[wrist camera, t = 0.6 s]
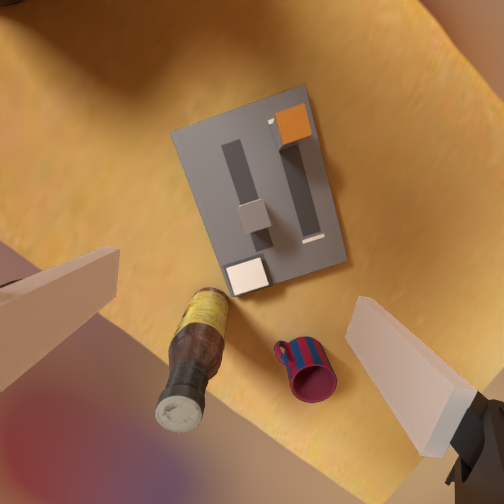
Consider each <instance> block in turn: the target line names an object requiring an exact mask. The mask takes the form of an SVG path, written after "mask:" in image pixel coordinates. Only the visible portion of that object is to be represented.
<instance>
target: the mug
mask: <svg viewBox="0 0 504 504" xmlns="http://www.w3.org/2000/svg"><path fill="white" fill-rule="evenodd" d="M280 346H281V347H283V348H285V351H284V355H283V353H282V352H281V350H280ZM274 350H275V354H276V356H277V358H278V359H279V361H280V362H281V363H282V364H284V365H285V366H286V369H287V373H288V378H289V382H290V387H291V390H292V392H293V394H294V395H295V397H297V398H298V399H299V400H301V401H304V402H308V403H316V402H320V401H323V400H325V399H327V398H328V397H329V396H331V395H332V393H333V392H334V390H335V388H336V385H337V378H336V375H335V373H334V371H333V369H332V367H331V365H330V362H329V360H328V358H327V356H326V354H325V352H324V350H323V348H322V346H321V344H320V343H319V342H318V341H317V340H315V339H313V338H311V337H299V338H296V339H294V340H292V341H291V342H290V343H287V342H284V341H278V342H277V343H276V344H275V346H274Z"/></svg>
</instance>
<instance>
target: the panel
mask: <svg viewBox="0 0 504 504" xmlns="http://www.w3.org/2000/svg"><path fill="white" fill-rule="evenodd" d="M303 103H304V104H305V108H306V112H307V116H308V120H309V124H310V128H311V132H312V135H311V136H310V137H307V138H306V139H305V140H304V141H303V142H301V143H300V144H298V145H295V146H292V147H289V148H286V149H283V150H281V151H278V150H277V147H276V143H275V140H274V136H273V133H272V129H271V126H272V124H273V121H274V118H275V117H274V114H275V113H277V112H280V111H283V110H286V109H289V108H292V107H294V106H297V105H300V104H303ZM170 135H171V137H172V140H173V143H174V145H175V148H176V151H177V153H178V156H179V159H180V161H181V164H182V167H183V169H184V172H185V175H186V177H187V180H188V183H189V185H190V188H191V191H192V193H193V196H194V199H195V201H196V204H197V207H198V209H199V212H200V215H201V217H202V220H203V223H204V225H205V228H206V231H207V233H208V236H209V239H210V241H211V244H212V247H213V249H214V252H215V255H216V257H217V260H218V263H219V265H220V268H221V271H222V273H223V276H224V279H225V281H226V284H227V287H228V289H229V292H230V295H231V297H237V296H240V295H243V294H246V293H249V292H253V291H256V290H259V289H262V288H265V287H269V286H272V285H274V284H276V283H279V282H282V281H285V280H289V279H292V278H295V277H298V276H301V275H305V274H308V273H311V272H314V271H317V270H321V269H324V268H327V267H330V266H333V265H337V264H340V263H343V262H346V261H348V259H347V255H346V251H345V246H344V242H343V238H342V234H341V230H340V226H339V222H338V218H337V214H336V209H335V205H334V201H333V197H332V193H331V189H330V185H329V181H328V177H327V172H326V168H325V164H324V160H323V156H322V152H321V148H320V144H319V140H318V135H317V131H316V127H315V123H314V119H313V115H312V111H311V107H310V103H309V98H308V94H307V90H306V86H305V84H303V85H300V86H298V87H295V88H292V89H289V90H287V91H284V92H281V93H278V94H275V95H273V96H270V97H267V98H264V99H261V100H259V101H256V102H253V103H250V104H248V105H245V106H242V107H239V108H236V109H234V110H231V111H228V112H225V113H222V114H220V115H217V116H214V117H211V118H209V119H206V120H203V121H200V122H197V123H195V124H192V125H189V126H186V127H183V128H181V129H178V130H175V131H172V132H170ZM257 199H263V200H264V203H265V207H266V210H267V213H268V216H269V219H270V223H271V226H270V227H267V228H264V229H261V230H257V231H254V232H251V233H248V234H245V232H244V229H243V226H242V223H241V220H240V217H239V214H238V211H237V207H239V206H240V205H243V204H246V203H248V202H251V201H254V200H257ZM256 258H261V262H262V265H263V267H264V270H265V274H266V277H267V280H268V283H269V285H267V286H263V287H260V288H257V289H254V290H251V291H247V292H244V293H241V294H238V295H234V292H233V289H232V285H231V282H230V279H229V276H228V273H227V270H226V268H228V267H231V266H235V265H238V264H241V263H244V262H247V261H250V260H253V259H256Z"/></svg>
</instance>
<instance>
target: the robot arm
mask: <svg viewBox="0 0 504 504" xmlns="http://www.w3.org/2000/svg"><path fill="white" fill-rule="evenodd" d="M19 1H21V0H0V5H9V4H13V3H16V2H19ZM119 256H120V248H115V247H110V246H103V247H101V248H98V249H96V250H93V251H91V252H88V253H86V254H83V255H81V256H79V257H76V258H74V259H71V260H69V261H66V262H64V263H61V264H59V265H57V266H54V267H52V268H49V269H47V270H44V271H42V272H40V273H37V274H35V275H32V276H30V277H27V278H24V279H20V280H15V281H11V282H9V283H6V284H4V285H1V286H0V392H2V391H3V390H4V389H5V388H6V387H8V386H9V385H10V384H11V383H13V382H14V381H15V380H16V379H17V378H19V377H20V376H21V375H22V374H23V373H25V372H26V371H27V370H28V369H29V368H31V367H32V366H33V365H34V364H35V363H37V362H38V361H39V360H40V359H41V358H43V357H44V356H45V355H46V354H47V353H49V352H50V351H51V350H52V349H53V348H55V347H56V346H57V345H58V344H59V343H61V342H62V341H63V340H64V339H66V338H67V337H68V336H69V335H70V334H72V333H73V332H74V331H75V330H76V329H78V328H79V327H80V326H81V325H82V324H84V323H85V322H86V321H87V320H88V319H90V318H91V317H92V316H93V315H94V314H95V313H97V312H98V311H99V310H100V309H102V308H103V307H104V306H105V305H106V304H108V303H109V302H110V301H111V300H112V299H114V298H115V297H116V290H117V279H118V267H119ZM345 340H346V341H347V343H348V344H349V346H350V347H351V349H352V350H353V352H354V353H355V355H356V357H357V358H358V360H359V361H360V363H361V364H362V366H363V367H364V369H365V370H366V372H367V374H368V375H369V377H370V378H371V380H372V381H373V383H374V384H375V386H376V387H377V389H378V390H379V392H380V394H381V395H382V397H383V398H384V400H385V401H386V403H387V404H388V406H389V407H390V409H391V411H392V412H393V414H394V415H395V417H396V418H397V420H398V421H399V423H400V424H401V426H402V427H403V429H404V431H405V432H406V434H407V435H408V437H409V438H410V440H411V441H412V443H413V444H414V446H415V448H416V449H417V451H418V452H419V454H420V455H421V456H426V457H432V458H439V459H443V457H444V455H445V453H446V451H447V449H448V447H449V446H450V444H451V445H452V447H453V448H454V449H455V450H456V452H457V453H458V454H459V457H458V459H457V460H456V462H455V464H454V466H453V468H452V470H451V472H450V473H449V475H448V477H447V479H446V481H445V483H446V484H447V485H450V483H451V482H455V504H504V402H502V401H498V400H494V399H493V400H488V399H487V398H485V397H484V396H483V395H482V394H481V393H480V392H479V391H478V390H477V389H475V388H474V387H473V386H472V385H471V384H470V383H469V382H467V381H466V380H465V379H464V378H463V377H462V376H461V375H459V374H458V373H457V372H456V371H455V370H454V369H453V368H451V367H450V366H449V365H448V364H447V363H446V362H445V361H444V360H442V359H441V358H440V357H439V356H438V355H437V354H436V353H434V352H433V351H432V350H431V349H430V348H429V347H428V346H426V345H425V344H424V343H423V342H422V341H421V340H420V339H419V338H417V337H416V336H415V335H414V334H413V333H412V332H411V331H409V330H408V329H407V328H406V327H405V326H404V325H403V324H401V323H400V322H399V321H398V320H397V319H396V318H395V317H393V316H392V315H391V314H390V313H389V312H388V311H387V310H386V309H384V308H383V307H382V306H381V305H380V304H379V303H378V302H376V301H375V300H374V299H373V298H371V297H366V296H361V295H359V297H358V300H357V303H356V306H355V309H354V312H353V315H352V318H351V321H350V324H349V326H348V329H347V332H346V335H345Z"/></svg>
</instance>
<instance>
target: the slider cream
mask: <svg viewBox="0 0 504 504" xmlns="http://www.w3.org/2000/svg"><path fill="white" fill-rule="evenodd" d="M237 211H238V214H239V217H240V220H241V223H242V226H243V229H244V232H245V234H248V233H251V232H254V231H257V230H261V229H264V228H267V227H270V226H271V223H270V219H269V216H268V213H267V210H266V207H265V203H264V200H263V199H257V200H254V201H251V202H248V203H246V204H243V205H240V206H239V207H237Z"/></svg>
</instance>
